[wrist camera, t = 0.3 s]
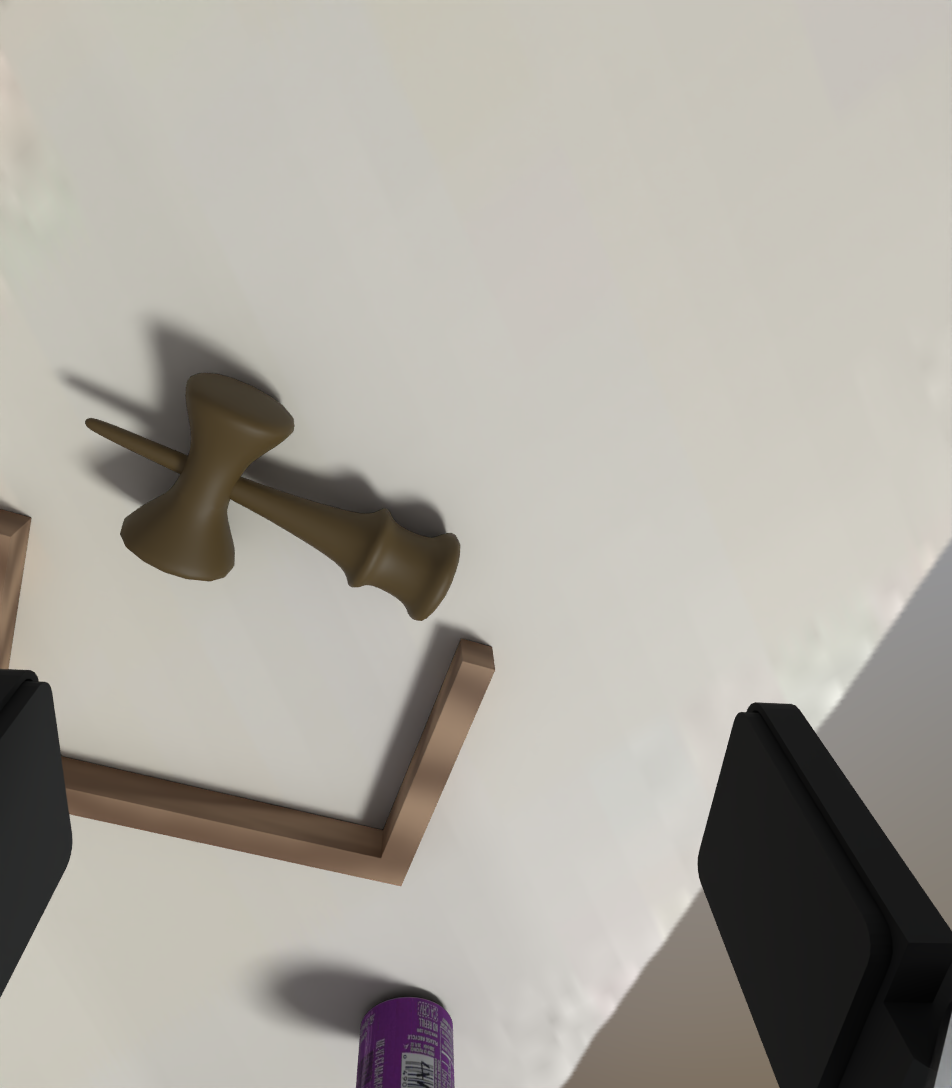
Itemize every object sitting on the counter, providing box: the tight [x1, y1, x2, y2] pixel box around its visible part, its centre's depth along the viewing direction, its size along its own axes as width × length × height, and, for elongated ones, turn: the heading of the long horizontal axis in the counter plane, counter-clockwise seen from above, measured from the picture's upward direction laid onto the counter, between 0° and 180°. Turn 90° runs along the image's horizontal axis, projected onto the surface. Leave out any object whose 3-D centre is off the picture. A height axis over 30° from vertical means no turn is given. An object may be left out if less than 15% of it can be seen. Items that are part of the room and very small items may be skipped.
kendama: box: [85, 373, 460, 621], centre depth 43 cm, size 6×10×20 cm
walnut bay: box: [0, 509, 495, 886], centre depth 50 cm, size 18×29×2 cm, turn 70°
